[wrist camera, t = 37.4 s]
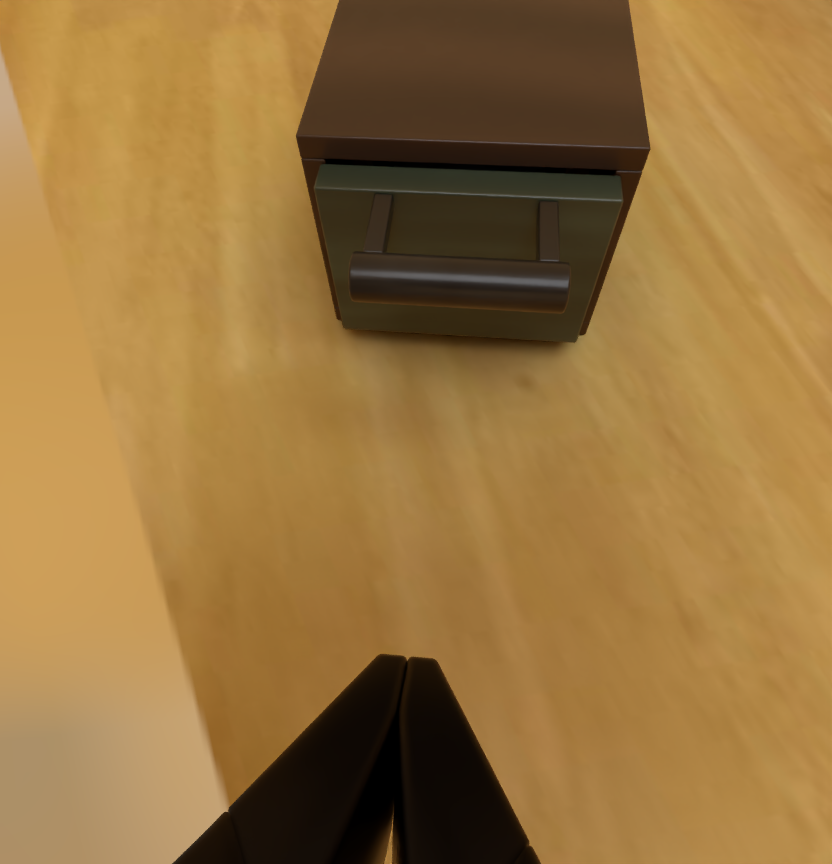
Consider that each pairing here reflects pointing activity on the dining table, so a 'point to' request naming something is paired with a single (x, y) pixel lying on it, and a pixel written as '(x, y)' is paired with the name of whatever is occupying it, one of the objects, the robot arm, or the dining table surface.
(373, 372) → the dining table surface
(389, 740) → the robot arm
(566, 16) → the cabinet
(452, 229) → the drawer
